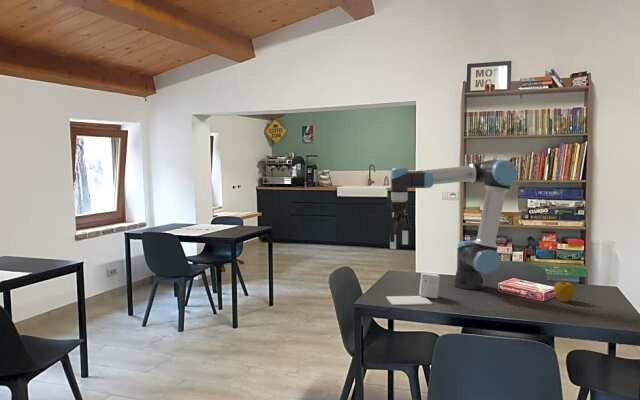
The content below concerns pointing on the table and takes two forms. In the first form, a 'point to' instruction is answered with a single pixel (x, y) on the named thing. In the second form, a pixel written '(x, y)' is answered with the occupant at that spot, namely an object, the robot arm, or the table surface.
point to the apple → (564, 291)
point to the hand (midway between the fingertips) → (399, 246)
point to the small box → (429, 285)
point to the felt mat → (408, 300)
